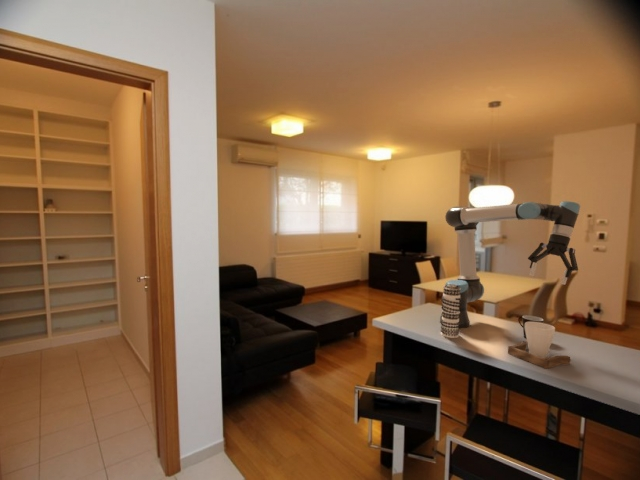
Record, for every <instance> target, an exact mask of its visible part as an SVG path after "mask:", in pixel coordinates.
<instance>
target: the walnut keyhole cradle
mask: <svg viewBox="0 0 640 480" xmlns="http://www.w3.org/2000/svg"><path fill="white" fill-rule="evenodd" d="M527 346H528V342H527V340H526V341H525V340H523V341H522V342H521V343H517V344H513V345H509V346H508V347H507V354H508V355H510V356H511V355H512V356H513V355H514V356H513V357H516V358H518V357H519V358H518V359H521V360H523V359H524V361H526V362H528V361H529V363H531V364H534V365H536V366H538V367H540V368H544V369H546V370H547V369H551V368H553V367H557V366H560V365H565V366H567V365H571V356H569V355H559V354H558V355H555V356H551V357H548V358H547V359H544V358H541V357H539V356H536V355H533V354H531V353H529V351H527V348H528V347H527Z"/></svg>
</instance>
